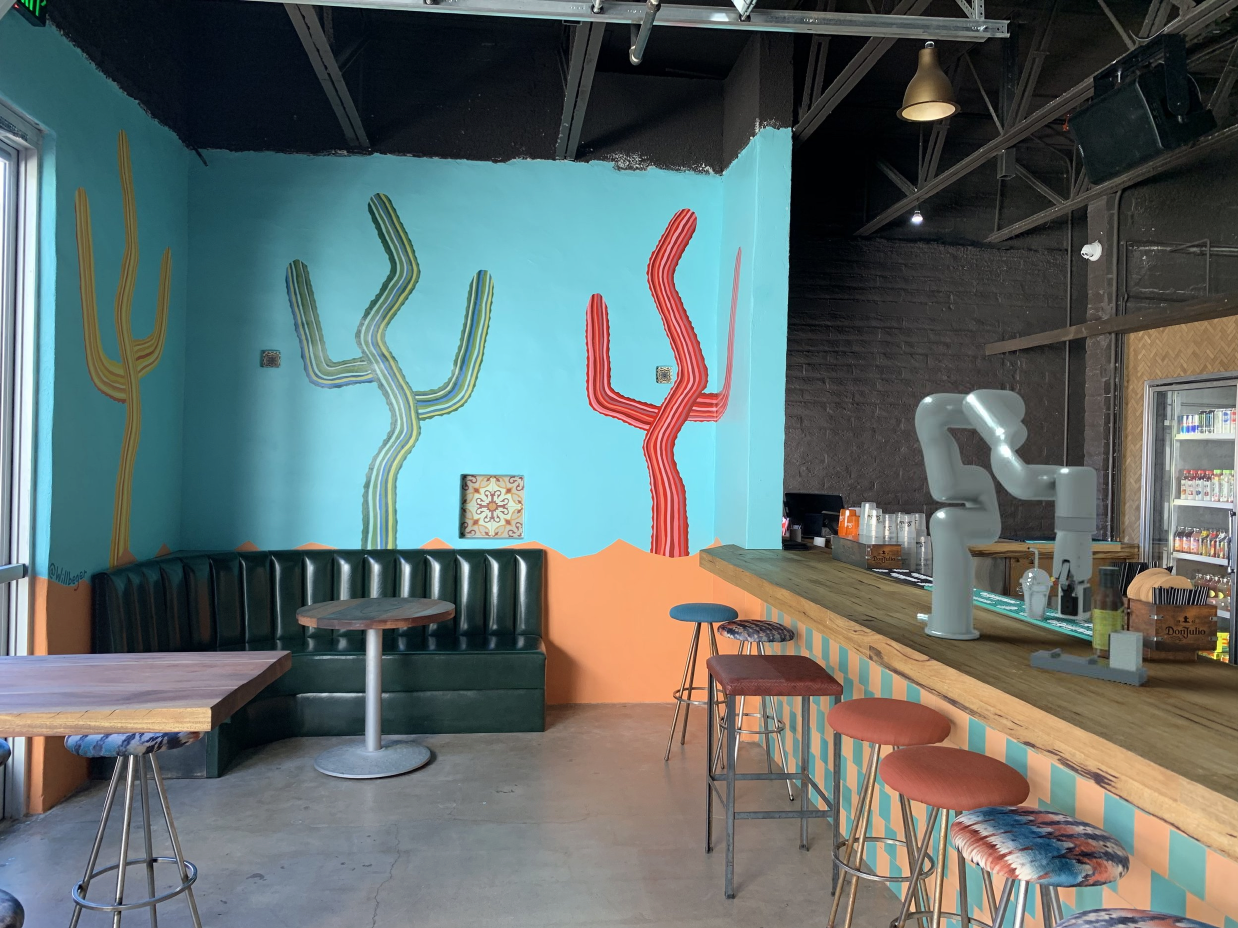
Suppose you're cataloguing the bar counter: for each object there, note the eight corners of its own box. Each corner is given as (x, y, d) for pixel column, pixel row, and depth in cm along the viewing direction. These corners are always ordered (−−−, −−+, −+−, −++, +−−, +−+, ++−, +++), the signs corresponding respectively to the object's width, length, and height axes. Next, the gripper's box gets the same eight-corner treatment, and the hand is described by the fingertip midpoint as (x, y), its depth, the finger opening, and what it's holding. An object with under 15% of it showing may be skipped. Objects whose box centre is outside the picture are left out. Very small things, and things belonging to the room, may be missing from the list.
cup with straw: (1059, 620, 229) (1061, 547, 229) (1031, 621, 227) (1033, 547, 227) (1037, 614, 238) (1039, 544, 237) (1009, 615, 235) (1011, 544, 235)
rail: (1030, 666, 177) (1031, 621, 177) (1040, 661, 181) (1041, 617, 181) (1138, 686, 163) (1139, 637, 163) (1146, 680, 167) (1148, 633, 167)
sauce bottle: (1128, 660, 184) (1131, 570, 184) (1097, 658, 185) (1100, 568, 185) (1117, 653, 191) (1119, 566, 190) (1087, 651, 192) (1089, 565, 192)
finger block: (1058, 616, 174) (1058, 583, 174) (1065, 614, 177) (1066, 581, 177) (1084, 620, 170) (1085, 586, 170) (1091, 617, 173) (1092, 584, 173)
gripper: (1069, 523, 182) (1067, 607, 182) (1041, 526, 171) (1039, 615, 171) (1107, 525, 177) (1106, 611, 177) (1081, 528, 165) (1079, 621, 165)
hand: (1073, 612), depth 174 cm, fingers closed on finger block, 4 cm apart
